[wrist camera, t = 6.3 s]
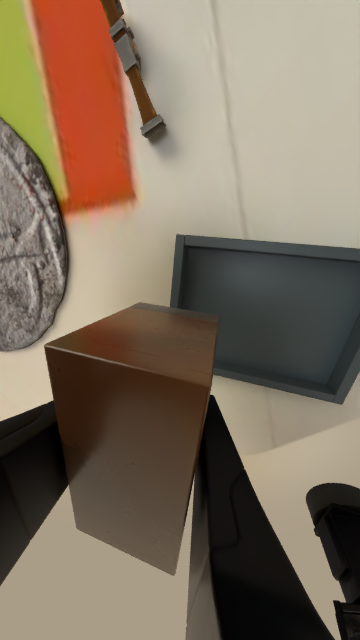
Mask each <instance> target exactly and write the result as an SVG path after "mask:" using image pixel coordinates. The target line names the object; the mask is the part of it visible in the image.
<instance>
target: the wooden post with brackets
mask: <svg viewBox="0 0 360 640" xmlns="http://www.w3.org/2000/svg"><path fill="white" fill-rule="evenodd" d="M100 1H101V2H102V5H103V8H104V11H105V14H106V16H107V19H108V22H109V25H110V29H109V32H110V34H111V38H112V39H113V41H114V42H115V44H114V46H115V48H116V50H117V52H118V54H119V57H120V59H121V62H122V65H123V68H124V72H125V73H126V75H127V76H128V77H129V80H130V82H131V85H132V88H133V91H134V95H135V98H136V101H137V104H138V108H139V111H140V114H141V118H142V122H143V126H142V127H141V128H140V129H141V132H142V135H143V136H144V137H146V138H148V137H150V136H151V135H153V134H154V133H156V132H157V131H159V130H160V129H162V128H163V127H164V126H166V125H165V124H164V121H163V118H162V117H161V116H160V114H159V115H158V116H157V114H156V112H155V110H154V108H153V105H152V103H151V101H150V98H149V96H148V94H147V91H146V89H145V87H144V84H143V81H142V79H141V76H140V73H139V70H140V64H139V60H140V56H139V55H138V53H137V51H136V48H135V45H134V43H133V38H134V35H133V33H132V31H131V29H130V27H128V28H126V23H125V21H124V19H122V18H121V16H122V15H123V14H124V12H123V9H122V6H121V3H120V0H100Z"/></svg>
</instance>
